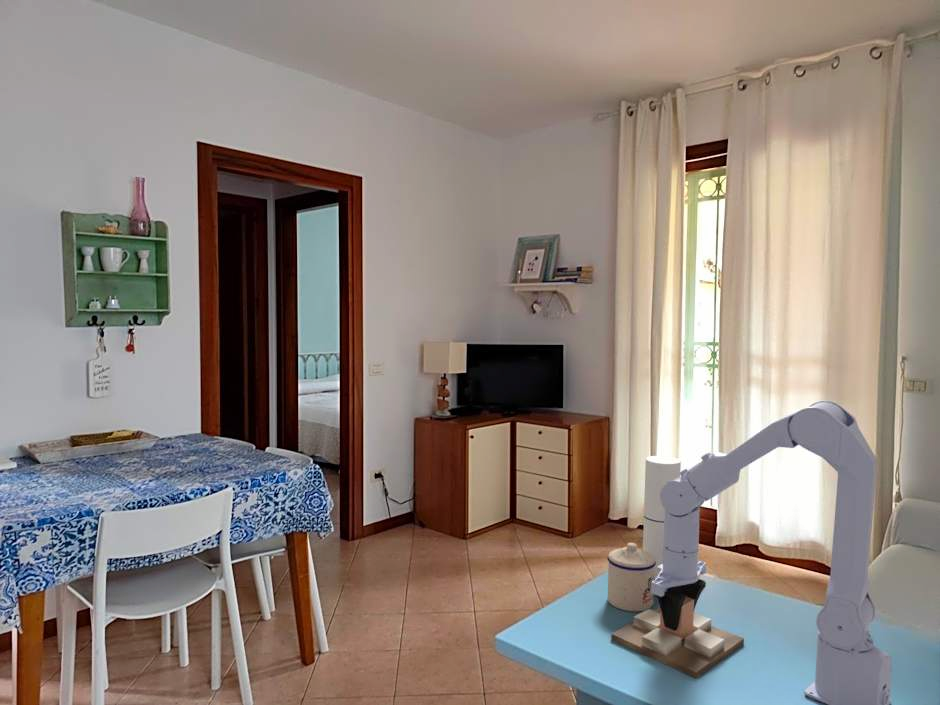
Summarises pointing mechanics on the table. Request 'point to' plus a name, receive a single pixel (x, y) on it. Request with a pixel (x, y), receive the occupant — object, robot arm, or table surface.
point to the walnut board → (681, 654)
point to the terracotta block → (682, 620)
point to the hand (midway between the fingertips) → (677, 623)
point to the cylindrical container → (656, 503)
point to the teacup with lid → (630, 578)
